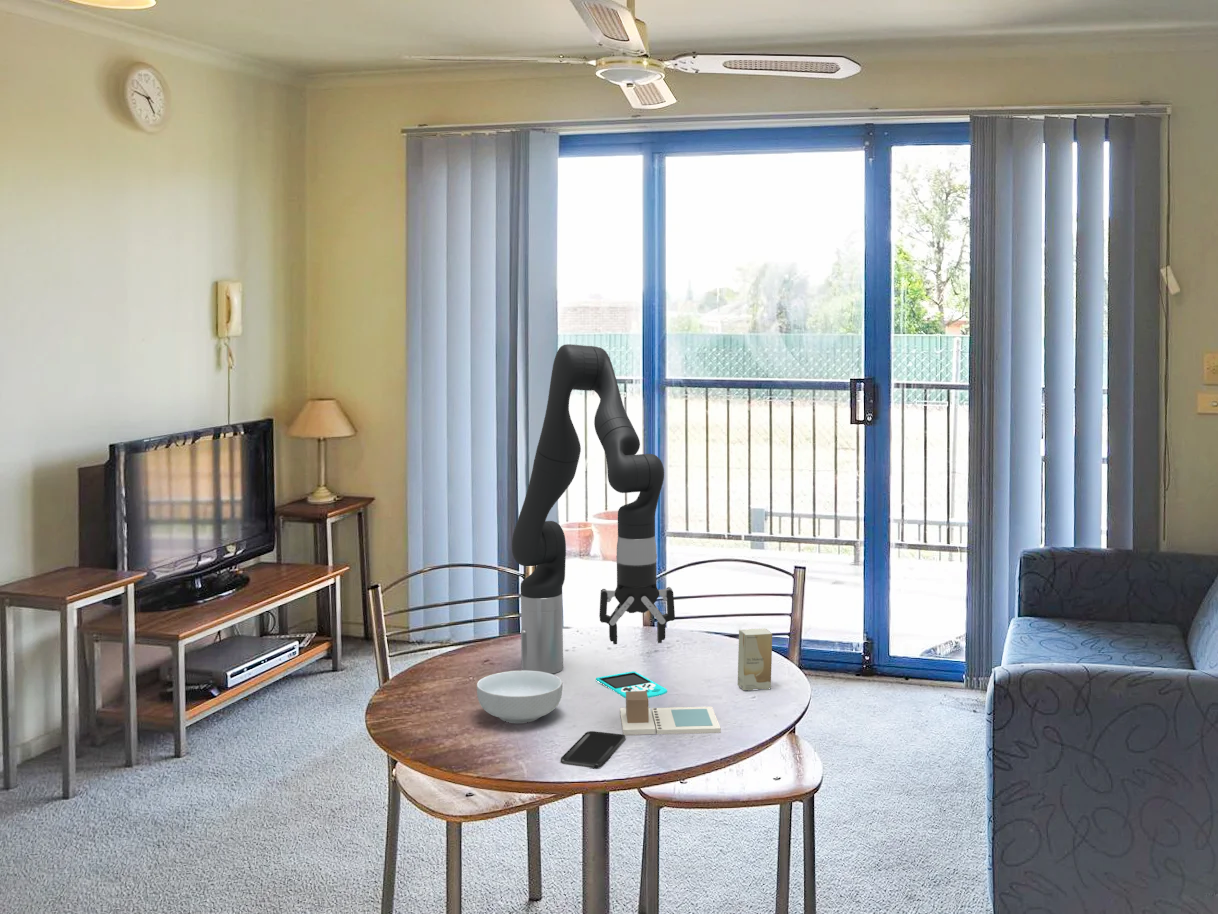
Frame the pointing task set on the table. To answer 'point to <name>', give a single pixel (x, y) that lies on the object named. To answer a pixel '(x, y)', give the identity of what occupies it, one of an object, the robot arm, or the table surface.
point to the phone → (593, 749)
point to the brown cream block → (637, 714)
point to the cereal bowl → (519, 695)
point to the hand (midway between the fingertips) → (637, 642)
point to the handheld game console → (631, 684)
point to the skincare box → (754, 659)
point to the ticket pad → (685, 720)
